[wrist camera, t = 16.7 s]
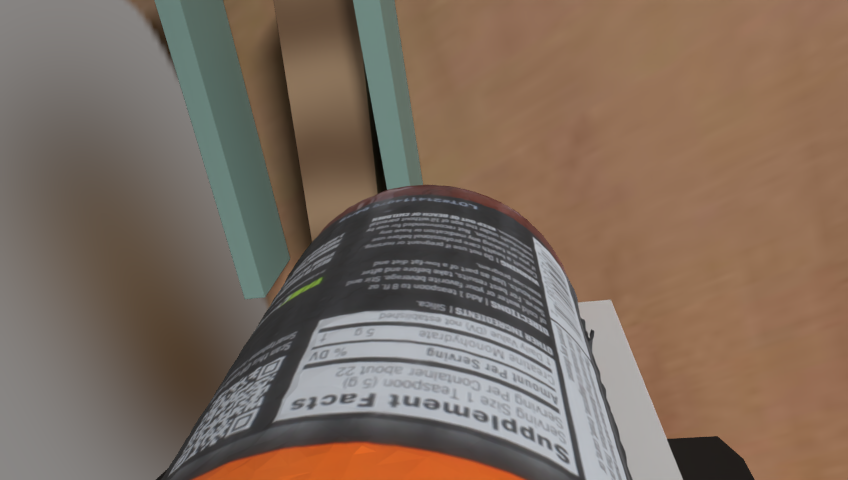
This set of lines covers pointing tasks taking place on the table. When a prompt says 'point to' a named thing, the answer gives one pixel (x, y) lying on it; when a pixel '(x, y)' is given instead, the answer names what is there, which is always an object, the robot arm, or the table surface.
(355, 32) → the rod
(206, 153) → the channel
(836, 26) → the table surface
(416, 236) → the supplement bottle
